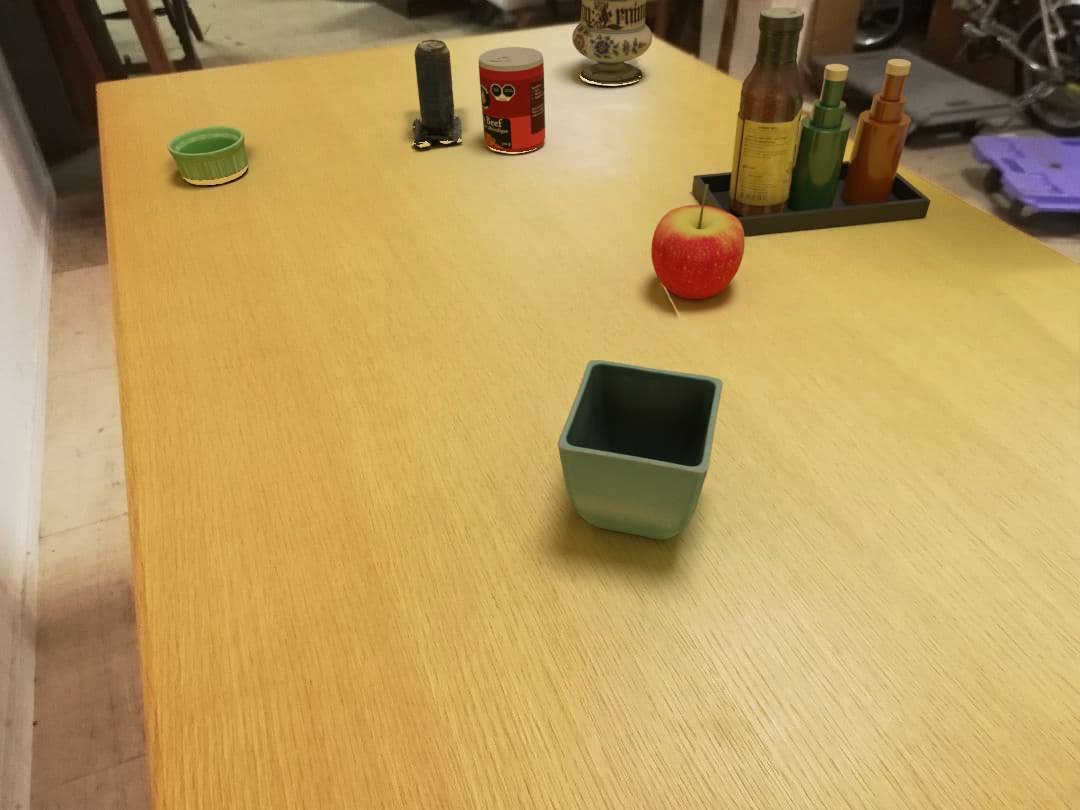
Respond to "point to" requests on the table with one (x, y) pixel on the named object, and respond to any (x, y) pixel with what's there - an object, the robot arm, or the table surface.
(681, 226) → the apple
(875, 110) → the amber bottle
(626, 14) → the apothecary jar
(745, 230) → the tray
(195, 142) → the ramekin
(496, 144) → the canned food
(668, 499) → the flower pot
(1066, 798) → the table surface
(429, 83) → the dark pillar on base
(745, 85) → the sauce bottle
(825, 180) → the green bottle
